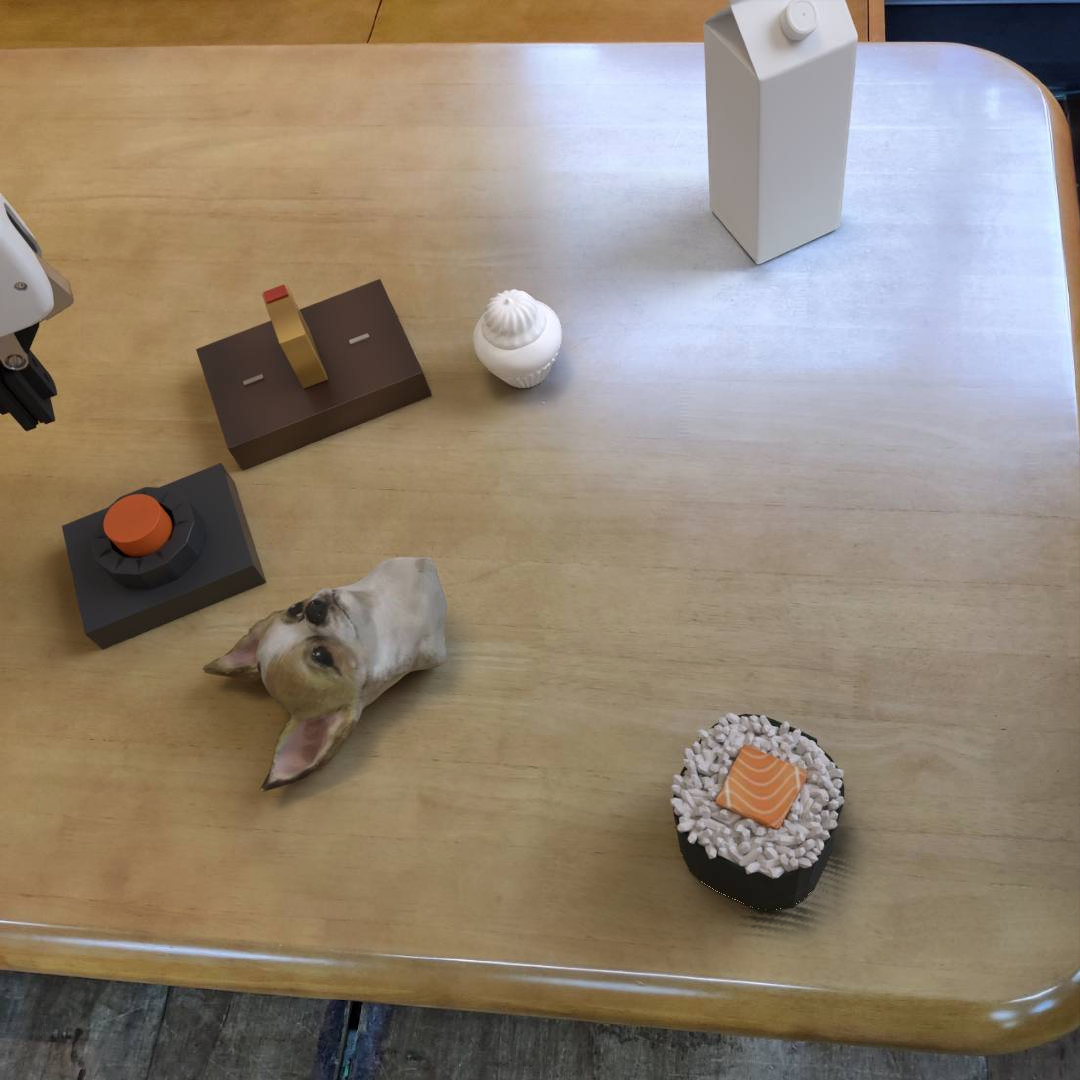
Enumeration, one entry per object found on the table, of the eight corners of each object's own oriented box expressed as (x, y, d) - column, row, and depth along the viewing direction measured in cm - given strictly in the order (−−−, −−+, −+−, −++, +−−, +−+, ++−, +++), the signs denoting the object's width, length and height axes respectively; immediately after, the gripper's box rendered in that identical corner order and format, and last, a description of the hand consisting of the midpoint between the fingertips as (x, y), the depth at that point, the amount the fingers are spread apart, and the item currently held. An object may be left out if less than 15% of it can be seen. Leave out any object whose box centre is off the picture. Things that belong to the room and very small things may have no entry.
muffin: (524, 419, 76) (505, 349, 69) (465, 376, 78) (441, 304, 72) (587, 365, 77) (574, 292, 71) (527, 324, 80) (509, 250, 74)
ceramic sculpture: (466, 611, 58) (216, 766, 56) (506, 677, 66) (287, 816, 64) (381, 479, 63) (148, 617, 61) (427, 555, 71) (222, 680, 69)
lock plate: (242, 471, 76) (226, 447, 73) (210, 372, 80) (194, 347, 78) (432, 396, 77) (422, 370, 75) (389, 303, 82) (379, 276, 80)
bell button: (122, 566, 68) (108, 551, 67) (112, 522, 70) (98, 507, 69) (178, 543, 69) (165, 528, 67) (166, 501, 71) (153, 485, 69)
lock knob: (328, 379, 76) (304, 331, 71) (303, 389, 75) (277, 340, 71) (309, 331, 78) (285, 281, 74) (285, 340, 78) (259, 290, 74)
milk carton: (709, 210, 83) (700, -42, 67) (789, 174, 84) (801, -83, 68) (757, 267, 80) (760, 18, 64) (840, 229, 81) (865, -26, 65)
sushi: (718, 743, 63) (714, 683, 56) (855, 803, 61) (870, 749, 54) (654, 868, 60) (642, 821, 53) (797, 937, 57) (804, 898, 50)
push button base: (102, 650, 70) (68, 620, 66) (78, 543, 74) (46, 510, 71) (266, 582, 71) (242, 549, 68) (234, 481, 75) (209, 445, 72)
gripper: (-400, 242, 42) (-90, 509, 58) (-16, 115, 44) (182, 407, 60) (-394, 127, 46) (-103, 409, 62) (-39, 13, 48) (154, 316, 64)
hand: (37, 408), depth 61 cm, fingers closed
